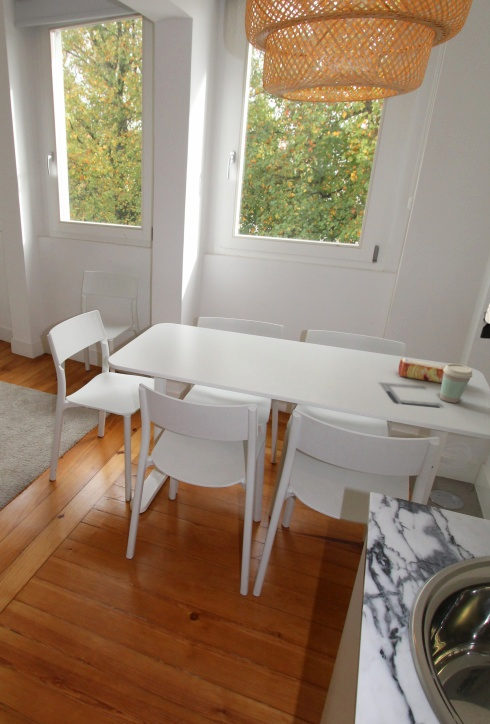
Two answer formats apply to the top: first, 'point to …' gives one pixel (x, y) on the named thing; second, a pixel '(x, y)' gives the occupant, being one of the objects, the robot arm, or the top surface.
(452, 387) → the coffee cup
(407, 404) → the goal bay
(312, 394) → the top surface
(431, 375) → the snack package
